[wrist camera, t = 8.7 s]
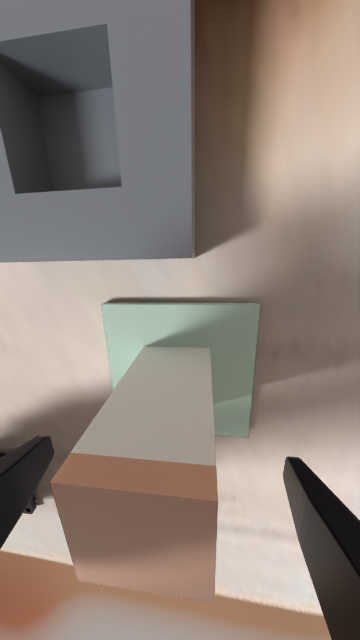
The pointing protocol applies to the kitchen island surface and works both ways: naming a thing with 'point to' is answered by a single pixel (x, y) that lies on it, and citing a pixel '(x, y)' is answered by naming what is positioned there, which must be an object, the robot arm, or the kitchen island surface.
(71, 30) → the grey square socket block
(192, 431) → the plug
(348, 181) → the kitchen island surface
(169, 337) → the mat
